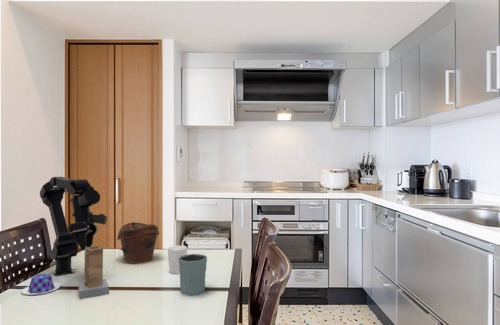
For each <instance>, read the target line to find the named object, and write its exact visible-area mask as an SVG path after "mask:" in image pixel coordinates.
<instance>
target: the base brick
mask: <svg viewBox="0 0 500 325" xmlns="http://www.w3.org/2000/svg"><path fill="white" fill-rule="evenodd" d="M109 292H110V286H109V284H108V280H107V279H106V278H103V285H100V286H96V287H92V288H88V287H87V286H85V285H84V281H83V282H78V297H79V299H88V298H93V297H99V296H104V295H109Z"/></svg>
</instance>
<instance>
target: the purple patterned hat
mask: <svg viewBox="0 0 500 325" xmlns="http://www.w3.org/2000/svg"><path fill="white" fill-rule="evenodd" d="M30 279H31V280H30V283H29V286H27V287H24V288H23V289H22V290H21V294H23V295H29V296H30V295H31V296H33V295H42V294H47V293H50V292H54V291H55V290H58V289H59V288H60V287H61V285H62V284H61V283H59V282H54V281H53V277H52V274H50V273H46V272H45V273H39V274H35V275H33V276H32V277H31V278H30Z"/></svg>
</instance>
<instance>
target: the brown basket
mask: <svg viewBox="0 0 500 325" xmlns="http://www.w3.org/2000/svg"><path fill="white" fill-rule="evenodd" d="M158 235H161V234H160V232H159V227H158V226H157V225H156V224H147V223H142V222H132V221H131V222H128V223H126V224H124V225H123V226H122V227H121V228H120V229H119V231H118V233H117V239H116V240H117V241H120V244H121V248H120V251H122V253H123V255H122V256H123V260H124V262H125V263H129V264H143V263H148V262H150V261H151V260H153V258H154V252H155V248H156V242H157V238H158Z"/></svg>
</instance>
